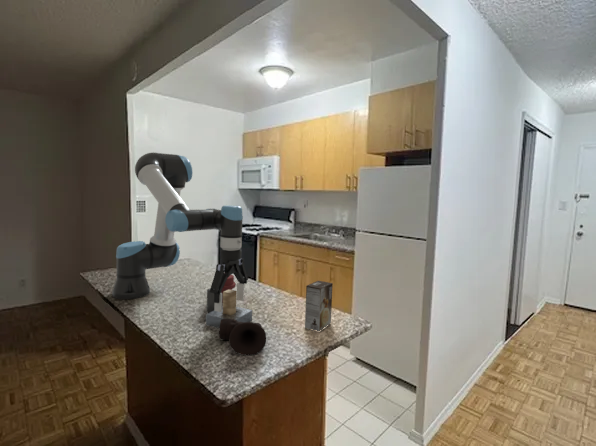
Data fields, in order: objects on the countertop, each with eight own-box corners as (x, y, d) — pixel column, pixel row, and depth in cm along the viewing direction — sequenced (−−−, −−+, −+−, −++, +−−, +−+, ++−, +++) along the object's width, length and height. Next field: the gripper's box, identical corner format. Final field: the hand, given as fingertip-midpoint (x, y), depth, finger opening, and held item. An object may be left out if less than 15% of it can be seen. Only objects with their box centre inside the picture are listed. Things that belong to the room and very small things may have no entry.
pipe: (222, 311, 115) (217, 320, 100) (266, 314, 116) (267, 323, 101) (219, 340, 114) (213, 354, 99) (263, 343, 115) (264, 356, 100)
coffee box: (316, 320, 129) (318, 279, 128) (331, 324, 126) (333, 282, 124) (304, 328, 121) (305, 285, 120) (319, 333, 118) (321, 288, 116)
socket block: (205, 325, 121) (206, 314, 120) (225, 314, 132) (226, 304, 131) (233, 332, 116) (233, 320, 116) (252, 320, 127) (252, 310, 127)
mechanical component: (238, 299, 151) (229, 306, 141) (217, 296, 153) (207, 303, 143) (239, 272, 149) (230, 277, 140) (218, 270, 151) (208, 275, 142)
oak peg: (222, 323, 123) (223, 291, 122) (228, 320, 126) (228, 289, 125) (230, 325, 121) (230, 293, 120) (235, 322, 124) (236, 290, 123)
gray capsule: (204, 312, 133) (204, 290, 132) (212, 308, 138) (212, 287, 137) (214, 315, 131) (215, 292, 130) (222, 310, 135) (223, 289, 135)
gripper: (217, 255, 108) (216, 318, 110) (257, 244, 131) (256, 297, 133) (199, 252, 111) (198, 314, 113) (241, 242, 134) (240, 294, 136)
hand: (229, 305), depth 123 cm, fingers open, 13 cm apart
